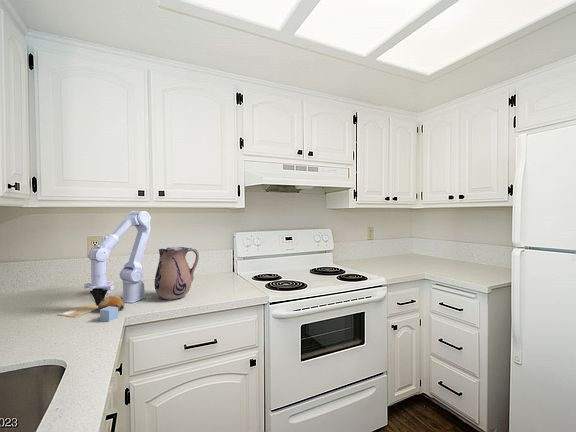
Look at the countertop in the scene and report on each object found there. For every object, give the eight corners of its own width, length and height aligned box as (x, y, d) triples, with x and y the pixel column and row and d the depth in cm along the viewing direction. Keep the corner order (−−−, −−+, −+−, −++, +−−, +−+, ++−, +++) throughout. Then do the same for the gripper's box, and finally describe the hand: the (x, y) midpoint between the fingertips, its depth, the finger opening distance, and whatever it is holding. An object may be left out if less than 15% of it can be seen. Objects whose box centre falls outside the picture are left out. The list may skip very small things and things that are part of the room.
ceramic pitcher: (153, 295, 156) (153, 247, 156) (195, 289, 166) (194, 244, 165) (155, 304, 141) (155, 251, 140) (201, 298, 150) (201, 248, 150)
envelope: (90, 303, 142) (90, 302, 142) (107, 305, 140) (107, 304, 140) (57, 315, 127) (57, 314, 127) (75, 317, 124) (75, 316, 124)
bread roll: (118, 313, 140) (113, 297, 141) (131, 307, 135) (126, 290, 137) (96, 320, 131) (91, 303, 132) (109, 314, 127) (104, 295, 128)
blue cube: (109, 316, 125) (109, 306, 125) (118, 317, 124) (118, 307, 124) (100, 320, 121) (99, 309, 121) (109, 321, 120) (108, 310, 120)
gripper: (77, 275, 132) (78, 306, 132) (104, 277, 128) (105, 309, 129) (91, 272, 139) (92, 301, 139) (117, 274, 135) (118, 304, 135)
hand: (99, 305), depth 134 cm, fingers closed
